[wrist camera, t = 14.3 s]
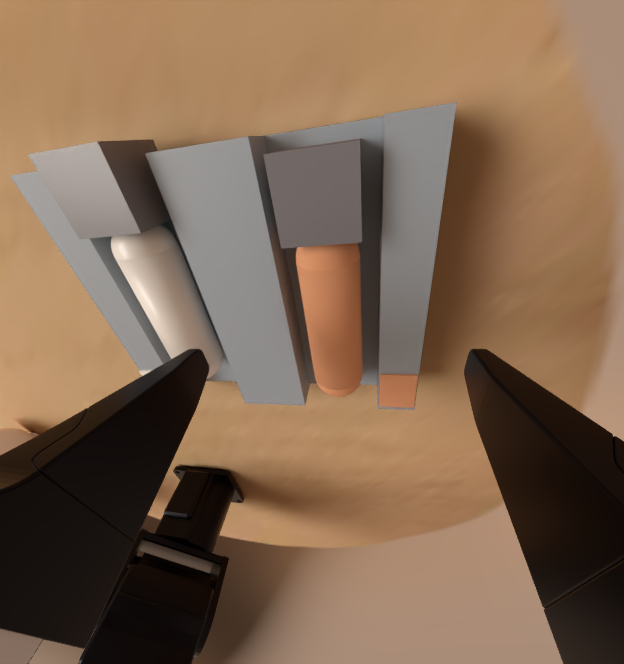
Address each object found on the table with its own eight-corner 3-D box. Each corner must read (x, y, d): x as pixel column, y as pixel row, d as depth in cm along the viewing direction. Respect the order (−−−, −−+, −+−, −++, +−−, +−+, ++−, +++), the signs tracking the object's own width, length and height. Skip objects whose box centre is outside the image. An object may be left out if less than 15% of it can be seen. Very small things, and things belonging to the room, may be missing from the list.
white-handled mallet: (236, 359, 17) (217, 393, 15) (196, 359, 18) (173, 392, 16) (152, 139, 11) (97, 141, 8) (94, 149, 11) (27, 154, 9)
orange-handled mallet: (364, 372, 16) (364, 411, 14) (318, 372, 17) (311, 408, 15) (360, 138, 10) (359, 139, 7) (285, 149, 10) (263, 154, 8)
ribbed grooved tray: (407, 373, 17) (414, 411, 15) (181, 370, 20) (158, 400, 18) (435, 109, 10) (457, 102, 7) (71, 168, 13) (7, 175, 10)
